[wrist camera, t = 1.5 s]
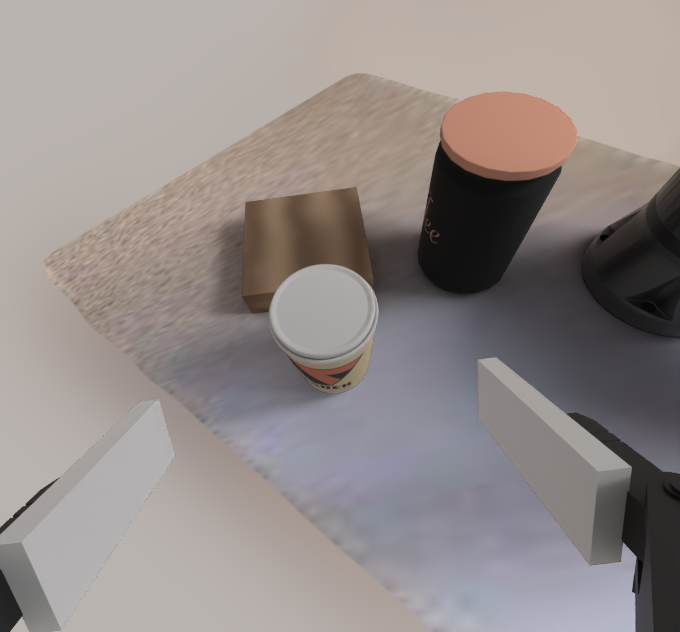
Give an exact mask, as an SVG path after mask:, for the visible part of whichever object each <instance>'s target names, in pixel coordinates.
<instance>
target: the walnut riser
mask: <svg viewBox="0 0 680 632" xmlns="http://www.w3.org/2000/svg"><path fill="white" fill-rule="evenodd" d="M320 264H331V265H338V266H342V267H345V268H348V269H350V270H352V271H354V272H355V273H357V274H358V275H359V276H361V277H362V278H363V279H364V280H365V281H366V282H367V283H368V284H369V285H370V287H371V288H372V290H374V278H373V273H372V267H371V262H370V257H369V251H368V246H367V240H366V235H365V230H364V224H363V219H362V214H361V208H360V203H359V197H358V192H357V187H354V188H347V189H339V190H332V191H325V192H317V193H310V194H303V195H295V196H288V197H281V198H273V199H266V200H259V201H251V202H246V206H245V233H244V259H243V286H242V297H243V298H244V300H245V302H246V303H247V305H248V307H249V308H250V310H251V312H252V313H259V312H267V311H269V308H270V304H271V301H272V299H273V296H274V294H275V292H276V291H277V289H278V288H279V286H280V285H281V284H282V283H283V282H284V281H285V280H286V279H287V278H288V277H289V276H291V275H292V274H294V273H295V272H297V271H299V270H301V269H304V268H306V267H309V266H314V265H320Z"/></svg>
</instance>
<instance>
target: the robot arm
mask: <svg viewBox="0 0 680 632" xmlns="http://www.w3.org/2000/svg"><path fill="white" fill-rule="evenodd" d="M582 272H583V277H584V280H585V282H586V284H587V286H588V288H589V290H590V291H591V293H592V294H593V296H594V297H595V298H596V299H597V301H598V302H599V303H600V304H601V305H602V306H603V307H604V308H606V309H607V310H608V311H609V312H611V313H612V314H613V315H615V316H616V317H618V318H619V319H621V320H622V321H624V322H626V323H628V324H630V325H632V326H634V327H636V328H639V329H641V330H644V331H647V332H650V333H654V334H658V335H664V336H671V337H680V169H679V170H678V171H677V172H676V173H675V174H674V175H673V176H672V177H671V178H670V179H669V180H668V182H667V183H666V184H665V185H664V186H663V187H662V188H661V189H660V190H659V192H658V193H657V194H656V195H655V196H654V197H653V198H652V199H651V200H650V201H649V202H648V203H647V204H645V205H643V206H642V207H640V208H638V209H637V210H635V211H633V212H631V213H630V214H628V215H626V216H625V217H623V218H621V219H620V220H618V221H616V222H615V223H613V224H611V225H609V226H608V227H606V228H605V229H604V230H603V231H601V232H600V233H599V234H598V235H597V237H596V238H595V239H594V240H593V241H592V243H591V244H590V245H589V246H588V248H587V249H586V251H585V253H584V255H583V259H582ZM478 419H479V420H480V422H481V423H482V424H483V426H484V427H485V428H486V429H487V431H488V432H489V433H490V435H491V436H492V437H493V439H494V440H495V441H496V443H497V444H498V445H499V447H500V448H501V449H502V451H503V452H504V453H505V455H506V456H507V457H508V458H509V460H510V461H511V462H512V464H513V465H514V466H515V468H516V469H517V470H518V472H519V473H520V474H521V476H522V477H523V478H524V480H525V481H526V482H527V483H528V485H529V486H530V487H531V489H532V490H533V491H534V493H535V494H536V495H537V497H538V498H539V499H540V501H541V502H542V503H543V505H544V506H545V507H546V509H547V510H548V511H549V512H550V514H551V515H552V516H553V518H554V519H555V520H556V522H557V523H558V524H559V526H560V527H561V528H562V530H563V531H564V532H565V534H566V535H567V536H568V538H569V539H570V540H571V541H572V543H573V544H574V545H575V547H576V548H577V549H578V551H579V552H580V553H581V555H582V556H583V557H584V559H585V560H586V561H587V563H588V564H589V565H598V564H606V563H614V562H621V554H622V546H623V542H624V543H625V544H626V546H627V547H628V548H629V549H630V550H631V551H632V552H633V553H634V554H635V555H636V556H637V559H636V566H635V574H634V581H633V589H632V592H634V593H635V605H636V632H680V474H678V473H672V472H662V471H661V470H660V469H658V468H657V467H656V466H654V465H653V464H652V463H650V462H649V461H648V460H646V459H645V458H644V457H642V456H641V455H640V454H638V453H637V452H636V451H634V450H633V449H632V448H630V447H629V446H628V445H626V444H625V443H624V442H620V439H618V438H617V437H616V436H614V435H613V434H612V433H609V432H608V430H606V429H605V428H604V427H602V426H601V425H600V424H598V423H597V422H596V421H594V420H592V419H590V418H587V417H585V416H583V415H581V414H578V413H570V414H566V413H564V412H563V411H562V410H561V409H559V408H558V407H557V406H556V405H554V404H553V403H552V402H551V401H550V400H548V399H547V398H546V397H545V396H543V395H542V394H541V393H540V392H538V391H537V390H536V389H535V388H533V387H532V386H531V385H530V384H529V383H527V382H526V381H525V380H524V379H522V378H521V377H520V376H519V375H517V374H516V373H515V372H514V371H513V370H511V369H510V368H509V367H508V366H506V365H505V364H504V363H503V362H501V361H500V360H499V359H498V358H496V357H494V358H486V359H478ZM174 457H175V454H174V451H173V447H172V444H171V440H170V437H169V433H168V429H167V426H166V422H165V419H164V415H163V412H162V408H161V404H160V401H159V399H152V400H144V401H140V402H139V403H138V404H137V405H136V406H135V407H133V408H132V409H131V410H130V411H129V412H128V413H127V414H126V415H125V416H124V417H123V418H122V419H121V420H120V421H119V422H118V423H117V424H116V425H115V426H114V427H113V428H111V429H110V430H109V431H108V432H107V433H106V434H105V435H104V436H103V437H102V438H101V439H100V440H99V441H98V442H97V443H96V444H95V445H94V446H93V447H91V449H89V450H88V451H87V452H86V453H85V454H84V455H83V456H82V457H81V458H80V459H79V460H78V461H77V462H76V463H75V464H74V465H73V466H72V467H71V468H69V469H68V470H67V471H66V472H65V473H64V474H63V475H62V476H61V477H59V478H58V479H56V480H55V481H53V482H52V483H50V484H49V485H47V486H46V487H44V488H43V489H41V490H40V491H39V492H38V493H37V494H36V495H35V496H34V497H33V498H31V499H30V500H29V501H28V502H27V503H26V506H24V507H22V508H21V509H20V510H19V511H17V512H16V513H15V514H14V516H13V518H10V519H9V520H8V521H7V522H6V523H5V524H4V525H3V526H1V528H0V632H10V631H11V630H12V628H13V627H14V626H15V624H16V623H17V622H18V621H19V619H20V618H21V617H23V619H24V621H25V623H26V625H27V628H28V630H29V632H51V631H59V630H62V629H63V627H64V626H65V624H66V623H67V621H68V619H69V618H70V616H71V615H72V613H73V612H74V610H75V609H76V607H77V606H78V604H79V603H80V601H81V600H82V598H83V596H84V595H85V593H86V592H87V590H88V589H89V587H90V586H91V584H92V582H93V581H94V580H95V578H96V577H97V575H98V574H99V572H100V570H101V569H102V567H103V566H104V564H105V563H106V561H107V560H108V558H109V557H110V555H111V553H112V552H113V551H114V549H115V547H116V546H117V544H118V543H119V541H120V540H121V538H122V537H123V535H124V534H125V532H126V531H127V529H128V528H129V526H130V525H131V523H132V521H133V520H134V518H135V517H136V515H137V513H138V512H139V511H140V509H141V508H142V506H143V505H144V503H145V501H146V500H147V498H148V497H149V495H150V494H151V492H152V491H153V489H154V488H155V486H156V485H157V483H158V482H159V480H160V478H161V477H162V475H163V473H164V472H165V471H166V469H167V468H168V466H169V465H170V463H171V462H172V460H173V459H174Z"/></svg>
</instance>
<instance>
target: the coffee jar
mask: <svg viewBox="0 0 680 632" xmlns="http://www.w3.org/2000/svg"><path fill="white" fill-rule="evenodd" d="M440 138H441V141H440V143H439V146H438V149H437V152H436V155H435V160H434V166H433V171H432V177H431V182H430V188H429V193H428V199H427V204H426V210H425V215H424V221H423V226H422V232H421V237H420V243H419V248H418V260H419V264H420V266H421V268H422V270H423V272H424V274H425V275H426V276H427V277H428V278H429V279H430V280H431V281H432V282H433V283H434V284H435V285H437V286H439V287H440V288H442V289H444V290H446V291H450V292H454V293H476V292H479V291H482V290H485V289H488V288H490V287H491V286H492V285H494V284H495V283H497V282H498V281H499V280H500V279H501V277H502V275H503V274H504V272H505V271H506V269H507V267H508V265H509V264H510V262H511V260H512V258H513V257H514V255H515V253H516V251H517V249H518V248H519V246H520V244H521V242H522V241H523V239H524V237H525V235H526V234H527V232H528V230H529V228H530V226H531V225H532V223H533V221H534V219H535V218H536V216H537V214H538V212H539V210H540V209H541V207H542V205H543V203H544V202H545V200H546V198H547V196H548V195H549V193H550V191H551V189H552V187H553V186H554V184H555V182H556V180H557V179H558V177H559V175H560V173H561V168H562V165H563V164H564V162H565V161H566V160H567V158H568V157H569V155H570V154H571V152H572V151H573V149H574V148H575V146H576V138H577V130H576V128H575V126H574V124H573V122H572V120H571V118H570V117H569V116H568V115H566V114H565V113H564V112H563V111H562V110H561V109H560V108H559V107H557V106H555V105H553V104H551V103H549V102H547V101H545V100H543V99H540V98H537V97H533V96H530V95H526V94H521V93H511V92H494V93H484V94H480V95H476V96H472V97H469V98H467V99H465V100H463V101H461V102H459V103H457V104H455V105H454V106H453V107H452V108H451V109H450V110H449V111H448V112H447V113H446V114H445V116H444V119H443V122H442V125H441V129H440Z"/></svg>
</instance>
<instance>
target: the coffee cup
mask: <svg viewBox="0 0 680 632" xmlns="http://www.w3.org/2000/svg"><path fill="white" fill-rule="evenodd" d="M378 314H379V310H378V302H377V299H376V296H375V294H374V291H373V290H372V288H371V287H370V285H369V284H368V283H367V282H366V281H365V280H364V279H363V278H362V277H361V276H359V275H358V274H357V273H355V272H354V271H352V270H350V269H348V268H345V267H342V266H338V265H331V264H320V265H314V266H309V267H306V268H304V269H301V270H299V271H297V272H295V273H294V274H292V275H291V276H289V277H288V278H287V279H286V280H285V281H284V282H283V283H282V284H281V285H280V286H279V288H278V289H277V291H276V292H275V294H274V296H273V299H272V301H271V304H270V308H269V314H268V321H269V327H270V331H271V334H272V336H273V338H274V340H275V341H276V343H277V344H278V346H279V347H280V348H281V349H282V350H283V351H284V352H285V353H286V354H287V356H288V357H289V358H290V360H291V361H292V362H293V364H294V365H295V366H296V367H297V369H298V370H299V371H300V373H301V374H302V375H303V377H304V378H305V379H306V380H307V381H308V382H309V383H310V384H311V385H312V386H313V387H315V388H316V389H318V390H320V391H323V392H327V393H340V392H345V391H347V390H350V389H352V388H353V387H355V386H356V385H357V384H358V383H359V382H360V381H361V380H362V379H363V378H364V376H365V374H366V372H367V370H368V366H369V362H370V356H371V351H372V345H373V339H374V332H375V329H376V326H377V321H378Z"/></svg>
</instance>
